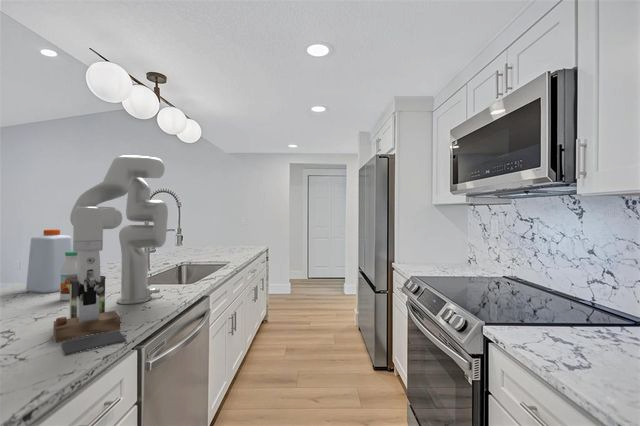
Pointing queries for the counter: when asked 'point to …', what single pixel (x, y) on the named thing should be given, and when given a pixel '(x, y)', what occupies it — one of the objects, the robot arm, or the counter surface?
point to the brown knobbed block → (85, 326)
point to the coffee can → (74, 293)
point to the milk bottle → (68, 274)
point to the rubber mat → (92, 342)
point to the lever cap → (87, 310)
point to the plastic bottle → (47, 261)
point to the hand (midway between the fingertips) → (86, 301)
